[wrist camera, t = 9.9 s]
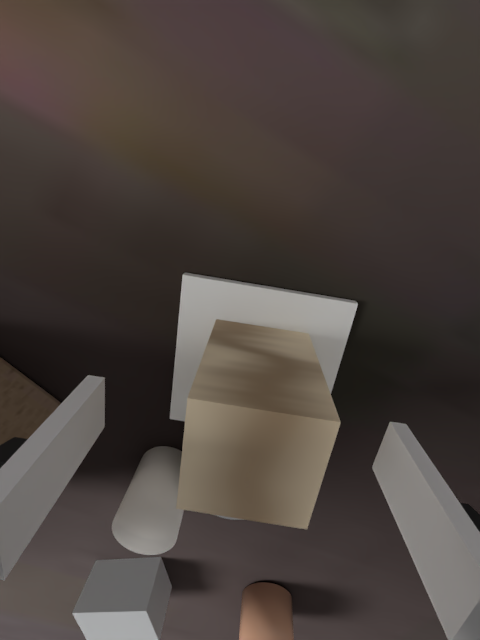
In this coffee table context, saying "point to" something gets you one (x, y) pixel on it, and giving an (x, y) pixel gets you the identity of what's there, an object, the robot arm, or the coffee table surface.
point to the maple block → (257, 427)
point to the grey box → (124, 600)
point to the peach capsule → (266, 613)
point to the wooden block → (21, 404)
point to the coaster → (256, 309)
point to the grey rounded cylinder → (151, 504)
